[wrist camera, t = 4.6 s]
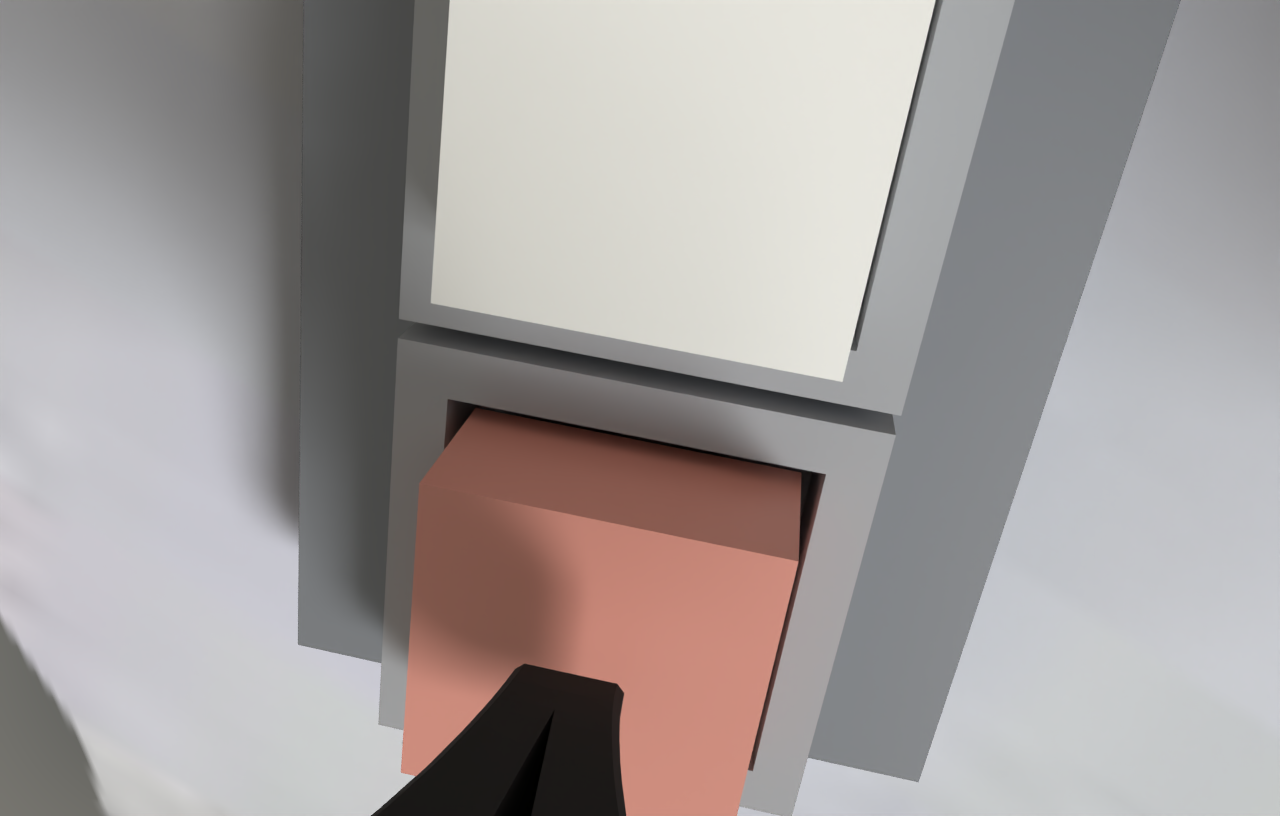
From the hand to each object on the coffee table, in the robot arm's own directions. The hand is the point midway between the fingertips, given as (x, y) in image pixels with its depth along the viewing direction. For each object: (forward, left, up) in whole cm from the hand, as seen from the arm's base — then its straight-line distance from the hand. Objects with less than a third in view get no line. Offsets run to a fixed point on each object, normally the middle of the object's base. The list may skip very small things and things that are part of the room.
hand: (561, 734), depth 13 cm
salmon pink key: (0, 0, -4) cm, 4 cm away
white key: (0, -8, -4) cm, 8 cm away
